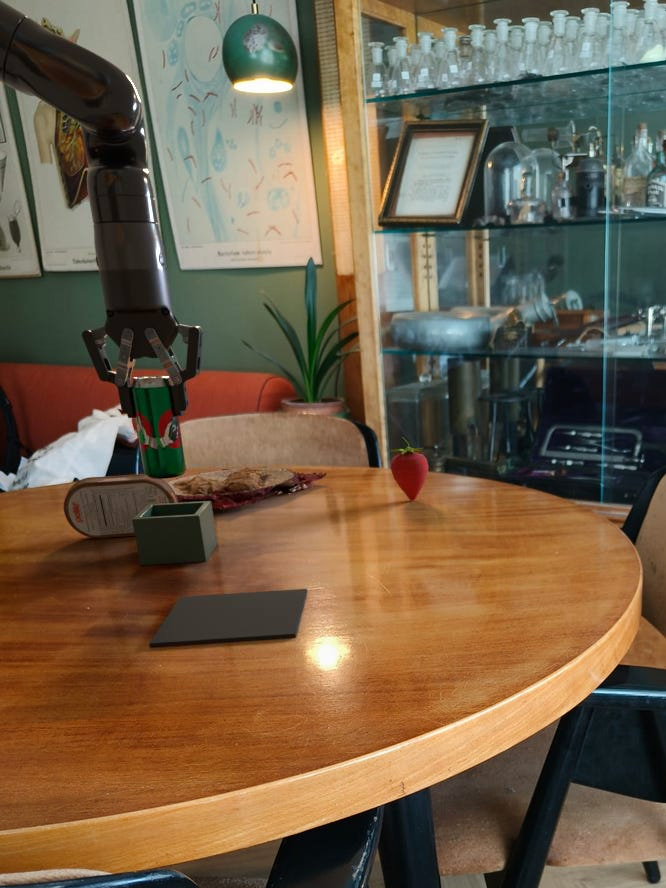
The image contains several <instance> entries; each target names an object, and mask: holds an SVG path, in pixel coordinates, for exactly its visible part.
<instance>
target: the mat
mask: <svg viewBox="0 0 666 888" xmlns="http://www.w3.org/2000/svg"><path fill="white" fill-rule="evenodd" d="M307 595H308V589H307V588H298V589H282V590H279V589H278V590H265V591H264V590H263V591H250V592H249V591H248V592H235V593H233V592H232V593H219V594H217V593H216V594H202V595H187V596H179V598H178V599H177V601H176V602H175V603H174V605H173V607H172V609H171V610H170V611H169V613H168V614H167V616H166V617H165V619H164V620H163V622H162V623H161V624H160V626H159V627H158V629H157V631H156V633H155V634H154V635H153V637H152V638H151V640H150V641H149V643H148V645H149V648H157V647H158V648H160V647H171V646H173V647H174V646H188V645H200V644H202V645H203V644H216V643H233V642H245V641H246V642H247V641H262V640H274V639H275V640H276V639H290V638H291V639H293V638H296V637H297V633H298V631H299V626H300V622H301V618H302V614H303V612H304V611H303V610H304V607H305V602H306V598H307Z"/></svg>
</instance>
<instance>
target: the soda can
mask: <svg viewBox="0 0 666 888" xmlns="http://www.w3.org/2000/svg"><path fill="white" fill-rule="evenodd" d="M131 381H132V383H131V387H130V390H131V396H132V402H133V408H134V414H135V418H134V419H135V424H136V432H137V436H138V443H139V448H140V454H141V455H140V456H141V462H142V467H143V473H144V474H146V475H147V476H148V477H150V478H153V479H163V480H164V479H174V478H180V477H182V476H183V475H184V474H185V473H186V471H187V464H186V458H185V449H184V445H183V444H184V443H183V437H182V431H181V425H180V418H179V417H180V416H176V415H175V409H174V402H173V396H172V389H171V385H173V382H172V380H171V378H170V377H169V375H144V376H135V377H131Z"/></svg>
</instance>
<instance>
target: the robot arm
mask: <svg viewBox="0 0 666 888" xmlns="http://www.w3.org/2000/svg"><path fill="white" fill-rule="evenodd" d="M0 82H1V83H2V84H4V85H6V86H8V87H10V88H11V89H13V90H15V91H17V92H19V93H22V94H24V95H26V96H30V97H36V98H37V99H39V100H40V101H42V102H44V103H45V104H47V105H49V106H51V107H52V108H54V109H55V110H57V111H58V112H61V113H62V114H64V115H66V116H68V117H69V118H71V119H72V120H74V121H75V122H76V123H79V125H80V129H81V135H82V139H83V146H84V151H85V156H86V163H87V167H88V170H87V174H86V188H87V197H88V201H89V207H90V213H91V218H92V223H93V240H94V242H93V244H94V251H95V262H96V266H97V268H98V275H99V281H100V284H101V292H102V297H103V303H104V309H105V314H106V317H105V322H104V325H103V326H102V327H97V328H94V329H85V330H83V331H82V333H81V338H82V340H83V342H84V345H85V347H86V349H87V352H88V355H89V358H90V360H91V363H92V364H93V368H94V370H95V373H96V375H97V377H98V379H99V380H100V381H101V382H105V383H111V384H113V385H115V386H116V388H117V393H118V398H119V404H120V410H121V411H122V413H123V414H126V416H127V418H128V419H135V414H134V408H133V402H132V396H131V390H130V387H131V385H132V383H131V381H132V375H133V370H134V367H135V365H136V361H137V360H139V359H142V358H148V359H149V358H150V359H158V360H159V362H160V364H161V365H162V367H163V368H164V369H165V371H166V373H167V376H169V377H170V378H169V379H170V381H171V382H172V384H173V385H171V389H172V396H173V402H174V409H175V415H176V416H179V417H183V416H185V412H186V411H187V410H189V406H190V403H189V397H188V390H187V382H188V381H189V380H192V379H193V378H196V377H199V375H200V373H201V364H202V363H201V362H202V361H201V360H202V352H203V351H202V350H203V340H204V339H203V337H204V330H203V327H201V326H199V325H195V326H191V325H187V324H186V325H185V324H181V323H180V322H179V321H178V319H177V318H176V316H175V313H174V308H173V307H174V306H173V301H172V293H171V286H170V280H169V272H168V266H167V259H166V253H165V246H164V243H163V242H164V241H163V238H162V235H161V231H160V225H159V224H158V223H159V219H158V214H157V213H158V212H157V207H156V200H155V193H154V188H153V184H152V180H151V177H150V173H149V159H148V144H147V134H146V124H145V116H144V110H143V105H142V101H141V99H140V96H139V94H138V91H137V89H136V87H135V85H134V83H133V82H132V80H131V78H130V77H129V76H128V75H127V74H126V73H125V72H124V71H123V70H122V69H121V68H119V67H118V66H117V65H115V64H114V63H113V62H110V61H109V60H107V59H106V58H104V57H102V56H101V55H99V54H98V53H95V52H93V51H92V50H89V49H87V48H86V47H84V46H82V45H80V44H77V43H75V42H73V41H71V40H69V39H67V38H65V37H62V36H60V35H58V34H56V33H54V32H52V31H51V30H49V29H47V28H45V27H44V26H43V25H41V24H40V23H38V22H37V21H35V20H34V19H32V18H31V17H29V16H27V14H24V13H23V12H21V11H20V10H18V9H16V8H14V7H12V6H11V5H10V4H8V3H6V2H5V1H3V0H0ZM179 334H180V335H181V337H182V338H181V339H182V342H183V343H184V344H185V345H187V349H186V350H187V351H186V362H185V363H186V364H185V369H183V368H182V367H181V365H180V363H179V360H178V357H177V356H176V353H175V351H174V350H173V348H172V346H173V343H174V342H175V340H176V338H177V337H178V335H179ZM107 336H108V337H109V338H110V340H112V342H113V343H114V344H115V345H116V347H118V349H119V351H118V357H117V361H116V365H117V367H116V371H115V370H114V369H113V367H112V364H111V362H110V359H109V357H108V354H107V352H106V350H105V347H106V346H107Z"/></svg>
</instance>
